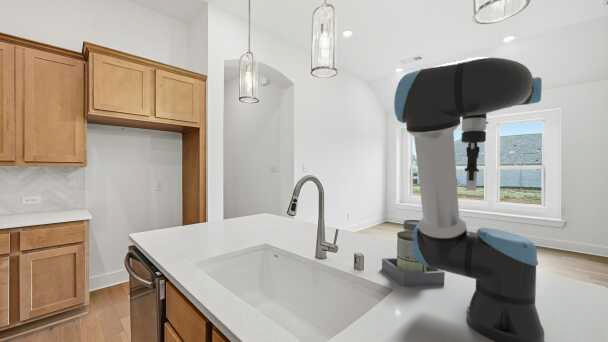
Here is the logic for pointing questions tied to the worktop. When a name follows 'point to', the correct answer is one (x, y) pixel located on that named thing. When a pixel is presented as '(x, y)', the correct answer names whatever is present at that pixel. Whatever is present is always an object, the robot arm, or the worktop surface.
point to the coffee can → (407, 254)
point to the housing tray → (412, 274)
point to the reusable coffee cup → (410, 225)
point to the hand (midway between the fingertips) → (471, 189)
